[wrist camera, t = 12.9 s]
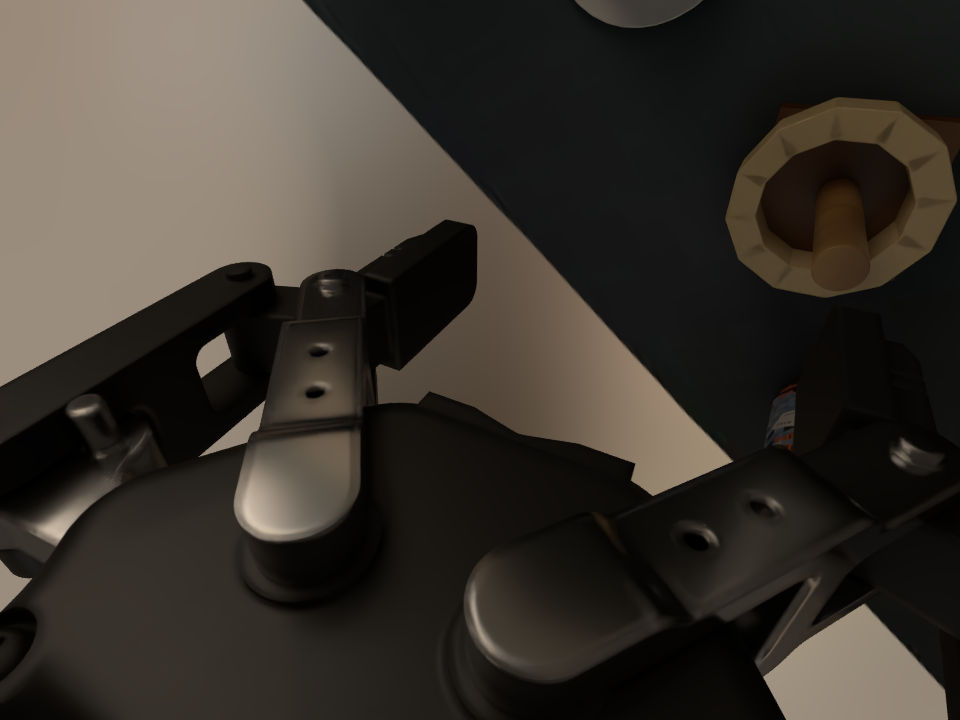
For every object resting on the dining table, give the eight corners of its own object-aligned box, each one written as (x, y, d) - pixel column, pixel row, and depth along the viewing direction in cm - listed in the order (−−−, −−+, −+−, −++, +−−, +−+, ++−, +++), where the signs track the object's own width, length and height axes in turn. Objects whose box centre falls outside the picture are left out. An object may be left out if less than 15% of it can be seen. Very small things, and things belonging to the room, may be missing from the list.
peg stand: (739, 243, 37) (709, 328, 28) (782, 102, 32) (762, 151, 23) (891, 271, 34) (912, 378, 25) (967, 118, 29) (1027, 183, 20)
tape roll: (716, 258, 37) (709, 275, 35) (762, 91, 31) (756, 100, 29) (894, 291, 33) (899, 313, 31) (986, 107, 27) (999, 119, 25)
